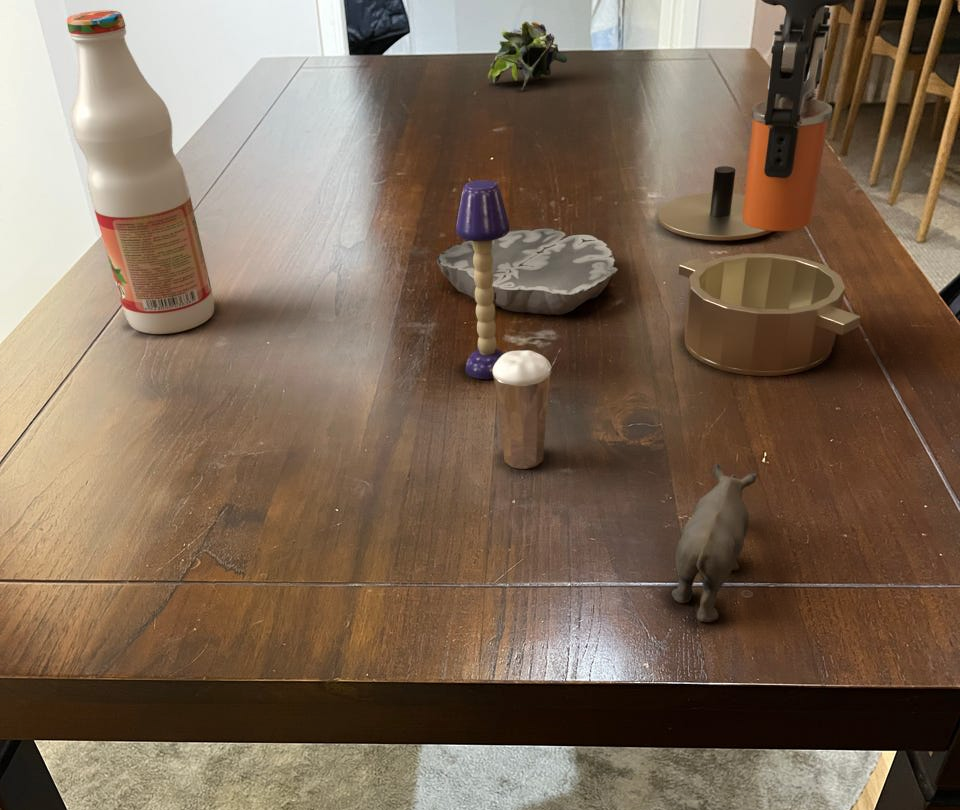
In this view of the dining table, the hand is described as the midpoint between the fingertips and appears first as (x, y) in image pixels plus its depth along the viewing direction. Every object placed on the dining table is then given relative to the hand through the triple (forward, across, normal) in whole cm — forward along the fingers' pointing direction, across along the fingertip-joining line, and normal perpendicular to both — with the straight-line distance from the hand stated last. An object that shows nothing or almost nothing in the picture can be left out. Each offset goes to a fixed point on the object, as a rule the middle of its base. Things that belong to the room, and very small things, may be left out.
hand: (784, 162), depth 86 cm
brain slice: (+16, +8, +26) cm, 32 cm away
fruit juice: (+16, -10, +60) cm, 63 cm away
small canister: (+5, 0, 0) cm, 5 cm away
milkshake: (+16, -26, +14) cm, 34 cm away
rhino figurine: (+17, -36, -3) cm, 39 cm away
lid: (+16, +31, +10) cm, 36 cm away
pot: (+16, 0, 0) cm, 16 cm away
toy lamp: (+16, -12, +23) cm, 31 cm away
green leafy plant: (+17, +89, +55) cm, 106 cm away
